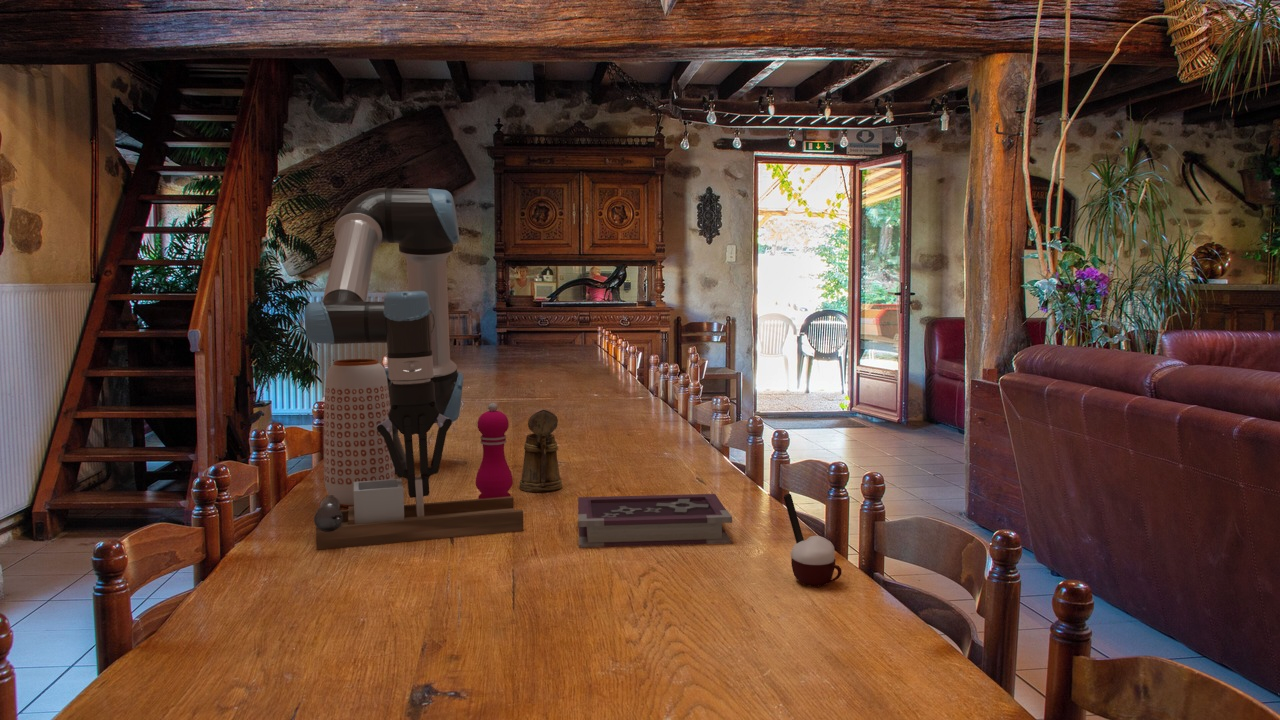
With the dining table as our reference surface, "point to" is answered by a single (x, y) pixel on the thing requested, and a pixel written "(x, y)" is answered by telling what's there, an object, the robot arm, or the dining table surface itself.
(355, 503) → the box
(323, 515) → the dark grey rounded lump
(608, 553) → the dining table surface
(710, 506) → the book
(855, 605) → the dining table surface
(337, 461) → the planter
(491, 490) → the pepper mill
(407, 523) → the bay
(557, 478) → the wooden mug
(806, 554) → the cocoa
